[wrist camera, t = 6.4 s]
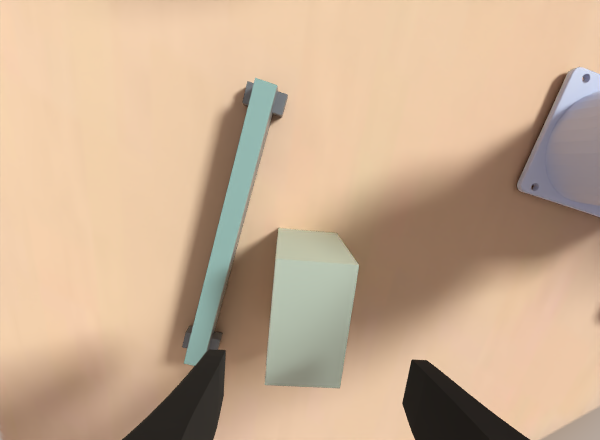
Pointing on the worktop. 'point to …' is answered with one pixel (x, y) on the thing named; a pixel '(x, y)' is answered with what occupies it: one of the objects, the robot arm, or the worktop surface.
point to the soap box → (310, 309)
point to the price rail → (233, 215)
